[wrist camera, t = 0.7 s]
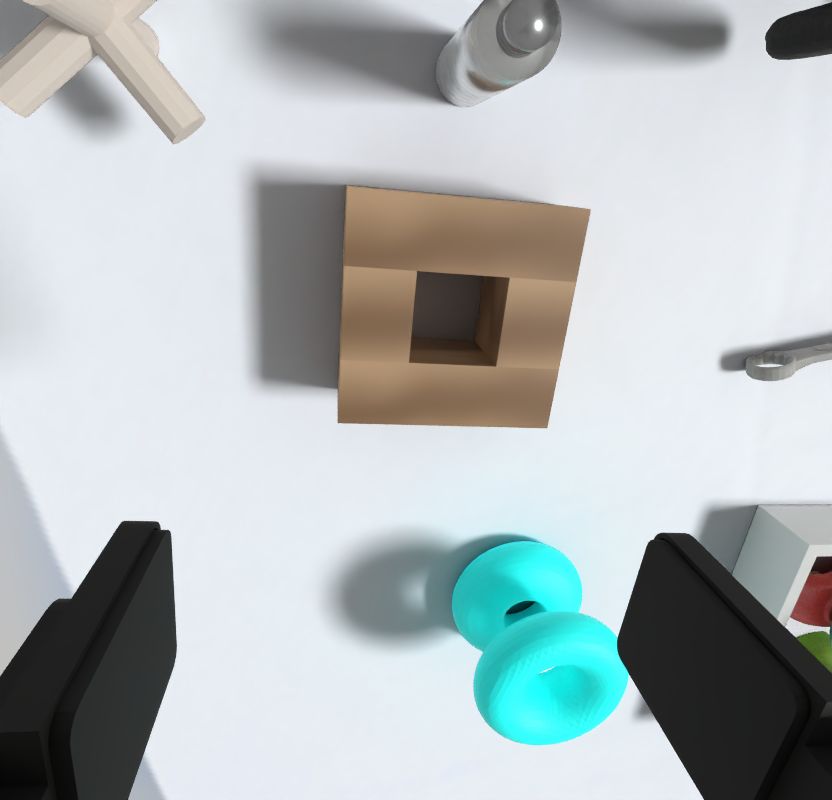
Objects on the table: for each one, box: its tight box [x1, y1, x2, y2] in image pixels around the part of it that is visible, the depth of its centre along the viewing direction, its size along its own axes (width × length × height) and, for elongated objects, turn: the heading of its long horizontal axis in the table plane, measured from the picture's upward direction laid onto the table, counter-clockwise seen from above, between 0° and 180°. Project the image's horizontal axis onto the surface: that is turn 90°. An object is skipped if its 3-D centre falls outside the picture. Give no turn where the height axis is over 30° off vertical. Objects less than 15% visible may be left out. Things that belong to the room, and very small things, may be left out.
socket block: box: [338, 185, 591, 428], centre depth 30 cm, size 12×12×5 cm
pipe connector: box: [0, 0, 205, 144], centre depth 21 cm, size 10×10×10 cm
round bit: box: [436, 0, 561, 107], centre depth 23 cm, size 3×3×10 cm
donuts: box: [452, 541, 628, 745], centre depth 38 cm, size 10×10×10 cm
